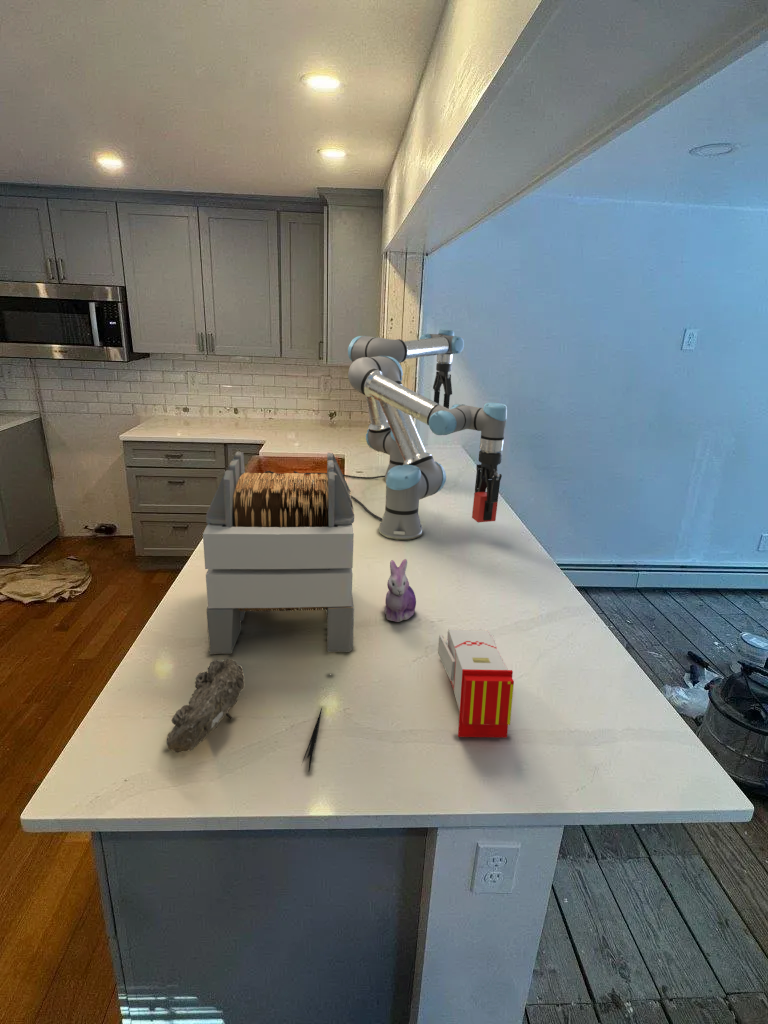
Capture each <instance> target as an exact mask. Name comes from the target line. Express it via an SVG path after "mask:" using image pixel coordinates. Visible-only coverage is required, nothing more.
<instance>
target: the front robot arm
mask: <svg viewBox="0 0 768 1024" xmlns="http://www.w3.org/2000/svg"><path fill="white" fill-rule="evenodd" d="M403 376H404V372H403V367H402V365H401V363H399V362H398V361H397V360H396V359H394V358H392V357H389V356H378V357H362V358H359V359H357V360H355V361H354V362H352V363H351V364H350V366H349V368H348V371H347V378H348V382H349V384H350V386H351V387H352V388H353V389H354V390H355V391H357V392H358V393H360V394H362V395H364V396H365V395H366V396H367V397H372V396H373V398H374V399H375V400H378V401H379V402H380V404H381V407H382V409H383V411H384V414H385V416H386V419H387V421H388V423H389V426H390V428H391V431H392V433H393V435H394V438H395V440H396V442H397V445H398V447H399V450H400V452H401V454H402V457H403V459H404V464H403V465H402V466H401V465H398V466H395V467H393V468H391V469H390V470H389V471H388V473H387V479H386V481H385V504H384V505H385V507H384V508H385V509H384V513H383V515H382V517H380V516H378V515H377V514H375V513H373V512H372V511H370V510H369V509H368V507H366V505H364V503H362V502H361V501H360V500H358V499H357V497H355V496H353V495H351V499H352V500H354V501H355V502H356V503H358V504H359V505H360V506H361V507H362V508H363V509H364V511H366V512H367V513H368V514H370V515H371V516H372V517H374V518H375V519H378V520H380V521H381V522H379V527H378V533H379V534H380V535H381V536H382V537H385V538H387V539H389V540H395V541H410V540H415V539H418V538H420V537H421V536H422V535H423V525H422V524H421V518H420V515H419V507H420V506H419V505H420V500H422V499H425V498H427V497H430V496H433V495H436V494H437V493H439V492H440V491H442V489H443V488H444V486H445V484H446V481H447V472H446V470H445V468H444V466H443V465H442V464H441V463H439V462H438V461H436V460H435V459H434V457H433V454H431V453H429V452H427V451H426V448H425V446H424V444H423V442H422V439H421V436H420V434H419V432H418V429H417V427H416V425H415V422H414V419H416V420H417V421H419V422H421V423H423V424H425V425H427V426H429V427H428V428H429V429H430V431H431V433H432V434H434V435H436V436H447V435H451V434H453V433H457V432H461V431H465V430H472V431H478V432H480V438H479V439H480V441H479V452H478V464H476V476H475V484H474V493H475V492H487V501H485V508H484V517H483V520H484V521H485V520H491V518H492V511H493V503H494V502H498V503H499V496H500V495H499V494H500V486H501V481H502V477H503V475H502V473H498V471H499V470H498V466H499V465H500V464H501V463H502V460H503V449H504V444H505V441H504V440H505V432H506V425H507V420H508V407H507V405H506V404H504V403H501V402H485V403H484V405H483V407H478V406H474V405H473V406H472V405H466V404H459V403H458V404H453V405H452V406H451V407H449V409H448V408H446V407H444V406H443V405H441V404H440V403H439V404H438V403H436V402H434V400H432V399H430V398H428V397H426V396H424V395H422V394H420V393H418V392H416V391H414V390H413V389H411V388H408V387H406V386H404V385H403V384H402V381H403ZM479 463H480V464H479ZM293 473H299V472H297V471H296V470H293ZM306 477H307V475H306Z"/></svg>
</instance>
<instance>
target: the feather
mask: <svg viewBox="0 0 768 1024" xmlns="http://www.w3.org/2000/svg"><path fill="white" fill-rule="evenodd" d="M329 675H330V676H331V675H332V674H331V673H330V674H329ZM322 710H323V707H321V708H320V710H319V713H318V716H317V719H316V723H315V725H314V728H313V731H312V733H311V737H310V739H309V742H308V745H307V748H306V751H305V754H304V757H303V760H302V763H301V767H302V765H303V763H304V761H305V758H308V759H309V760H308V762H307V763H308V764H307V766H308V771H310V770H311V766H312V765H311V764H312V760H313V757H315V756H314V755H315V751H316V749H315V746H317V739H318V733H319V729H320V722H321V717H322V712H323V711H322ZM313 754H314V755H313ZM306 755H307V757H306Z"/></svg>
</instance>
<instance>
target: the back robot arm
mask: <svg viewBox="0 0 768 1024" xmlns="http://www.w3.org/2000/svg"><path fill="white" fill-rule="evenodd" d="M464 348H465V341H464V339H463V337H461V336H457V335H455V331H454V330H452V329H440V330H438V333H424V334H422V335H421V336H420V337H419V339H412V340H411V339H410V340H403V339H401V338H398V339H392V338H391V339H390V338H385V337H377V336H368V335H358V336H355V337H354V338H352V340H351V341H350V343H349V344H348V347H347V356H348V358H349V360H350V362H352V363H353V362H354V361H355V360H357V359H359V358H362V357H378V356H389V357H392V358H394V359H396V360H397V361H398V362H399V364H401V363H404V362H405V361H406V360H411V359H418V358H419V359H420V358H424V357H432V356H436V368H435V370H436V373H435V378H434V382H433V386H432V390H433V391H434V392H433V401H434V402H436V403H438V404H439V405H440V397H441V387H442V386H443V391H444V393H443V403H442V404H443V405H442V406H444V407H446V408H448V409H450V399H451V395H453V388H452V374H451V372H452V369H453V358H454V354H456V355H457V354H460V353H462V351H463V350H464ZM449 372H450V373H449ZM364 397H365V401H366V402H365V403H366V406H367V411H368V417H369V421H370V423H369V424H368V428H367V430H366V433H365V441H366V444H367V446H368V447H369V448H370V449H371V450H374V451H375V452H378V453H383V454H386V455H389V460H388V461H389V463H388V466H387V469H386V471H385V474H384V475H377V476H358V475H357V476H355V475H349V474H343V476H344V477H346V478H353V479H360V480H361V479H363V480H371V479H373V480H374V479H381V478H384V481H385V482H386V479H387V473H388V471H389V470H390V469H391V468H393V467H395V466H398V465H401V466H402V465H403V464H404V459H403V457H402V454H401V452H400V450H399V447H398V445H397V442H396V440H395V438H394V435H393V433H392V431H391V428H390V426H389V423H388V421H387V419H386V416H385V414H384V411H383V409H382V407H381V404H380V402H379V401H378V400H375V399H374V398H373V396H372V397H367V396H366V395H364ZM263 473H271V474H272V473H275V472H274V471H271V470H266V471H264V472H263ZM303 473H304V474H306V476H307V474H308V476H309V474H317V475H321V474H327V472H303ZM278 474H279V475H280V474H281V475H282V474H283V475H284V473H277V475H278Z"/></svg>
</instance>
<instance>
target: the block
mask: <svg viewBox="0 0 768 1024" xmlns="http://www.w3.org/2000/svg"><path fill="white" fill-rule="evenodd" d="M485 501H487V491H486V492H475V491H474V493H473V503H472V514H471V519H472V520H474V521H475V522H477V523H488V522H490V523H491V522H496V520H497V511H498V503H499V501H498V502H494V503H493V511H492V518H491V520H485V521H484V520H483V517H484V508H485Z"/></svg>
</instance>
